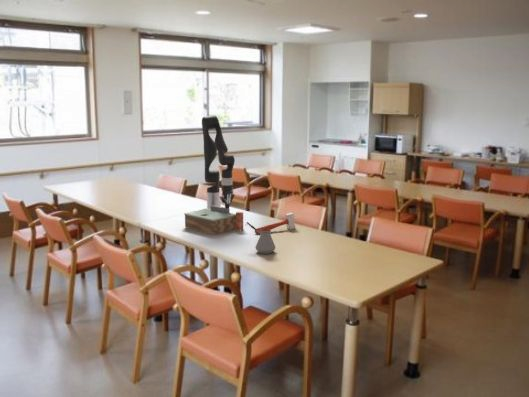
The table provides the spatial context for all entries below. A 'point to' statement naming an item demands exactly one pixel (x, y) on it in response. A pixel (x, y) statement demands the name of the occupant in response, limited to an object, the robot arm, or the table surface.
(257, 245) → the coffee pot
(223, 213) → the toolbox lid
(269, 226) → the mallet
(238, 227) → the pin
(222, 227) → the toolbox
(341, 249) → the table surface
